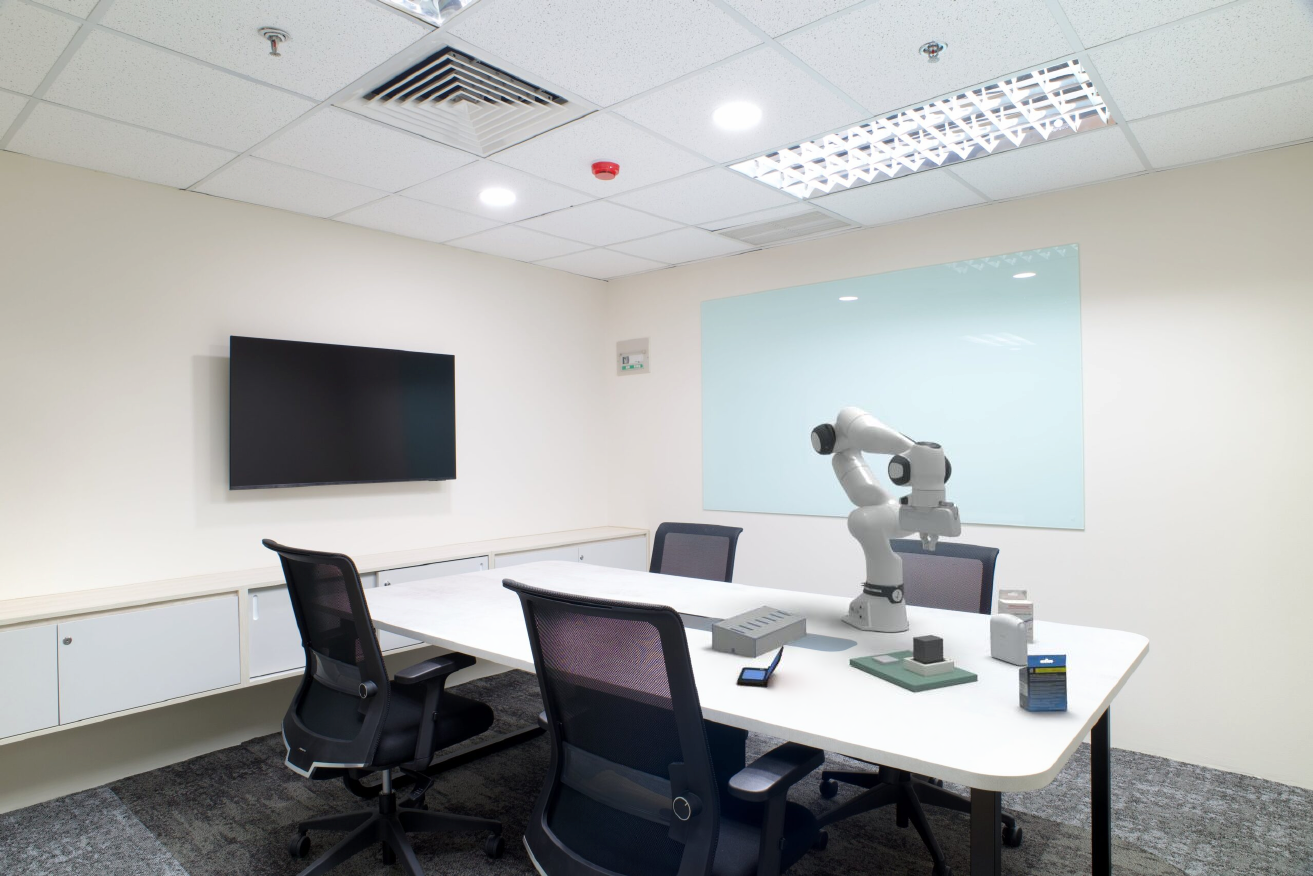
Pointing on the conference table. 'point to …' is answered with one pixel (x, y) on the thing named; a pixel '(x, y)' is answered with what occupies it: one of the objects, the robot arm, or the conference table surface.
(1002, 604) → the ink cartridge box
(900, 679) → the board
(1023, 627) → the photo printer
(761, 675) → the handheld game console
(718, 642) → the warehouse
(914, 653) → the plug
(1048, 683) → the label tape cartridge
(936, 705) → the conference table surface
